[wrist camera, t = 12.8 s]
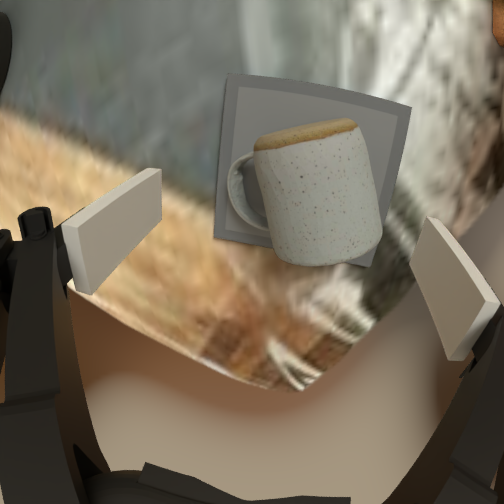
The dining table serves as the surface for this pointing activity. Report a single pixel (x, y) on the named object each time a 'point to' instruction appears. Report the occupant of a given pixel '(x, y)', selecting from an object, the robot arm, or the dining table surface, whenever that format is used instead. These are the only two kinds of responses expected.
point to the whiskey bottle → (498, 21)
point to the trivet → (292, 115)
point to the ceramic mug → (312, 193)
